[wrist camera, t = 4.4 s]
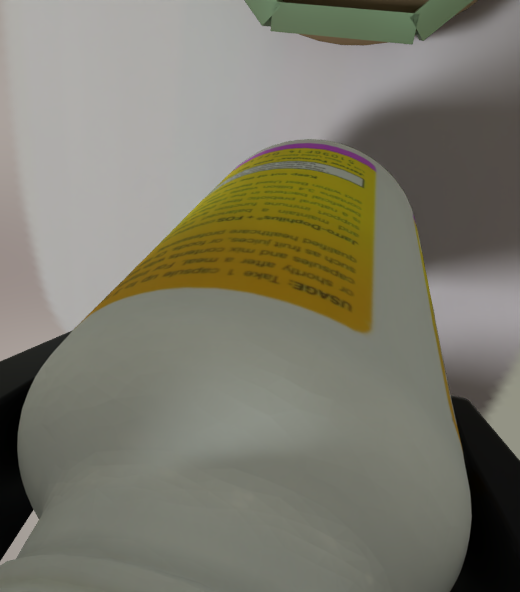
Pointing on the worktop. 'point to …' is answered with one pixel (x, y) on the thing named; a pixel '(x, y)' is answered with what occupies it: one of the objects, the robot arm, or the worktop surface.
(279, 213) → the supplement bottle
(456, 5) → the coaster ring
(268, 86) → the worktop surface
